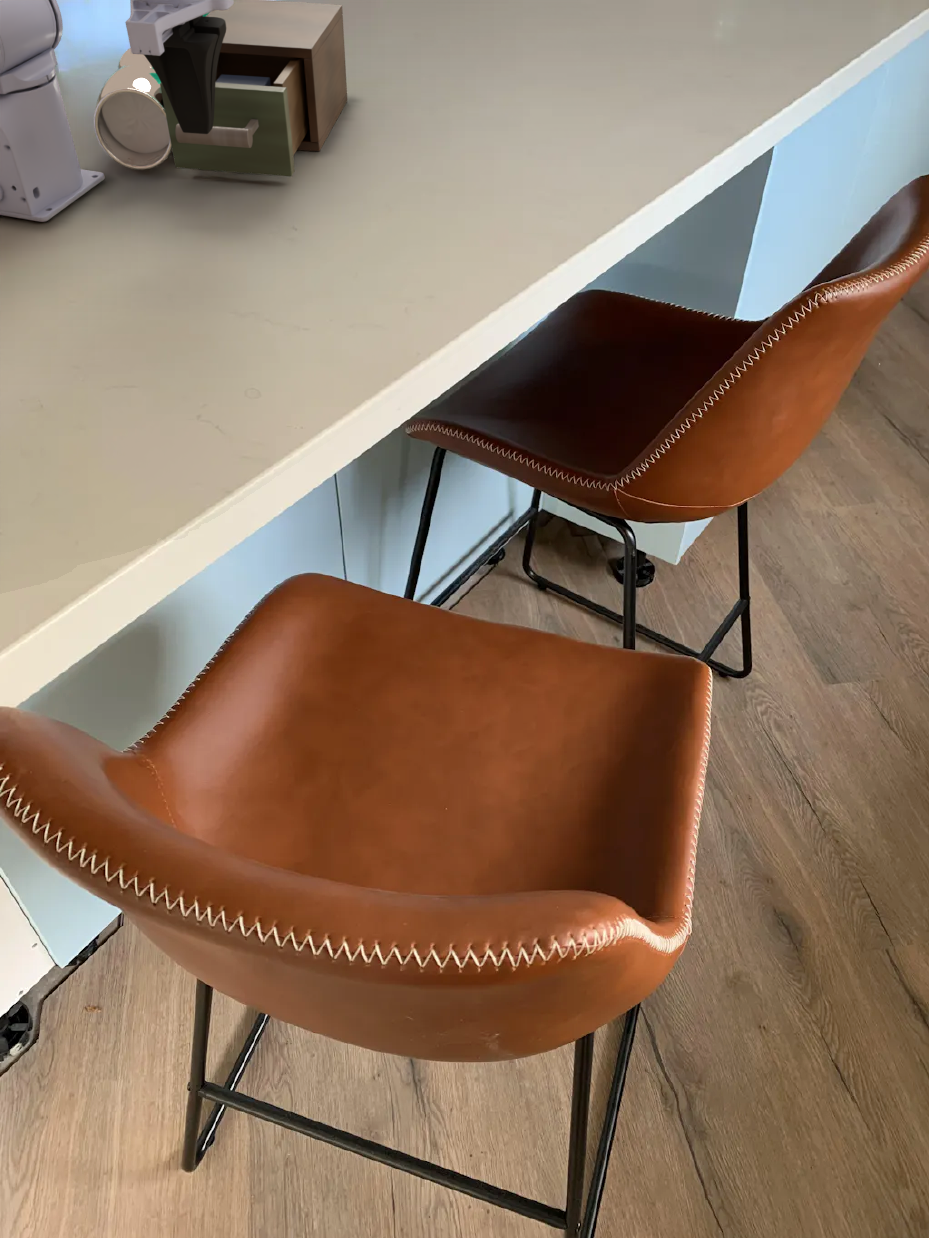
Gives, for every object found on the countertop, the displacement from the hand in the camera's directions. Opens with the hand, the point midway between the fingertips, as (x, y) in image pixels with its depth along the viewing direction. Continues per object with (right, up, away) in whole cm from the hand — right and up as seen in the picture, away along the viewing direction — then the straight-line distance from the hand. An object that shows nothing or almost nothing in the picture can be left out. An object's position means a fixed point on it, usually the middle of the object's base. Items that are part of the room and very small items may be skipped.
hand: (197, 130), depth 74 cm
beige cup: (-10, +15, +19) cm, 26 cm away
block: (+1, +5, +12) cm, 13 cm away
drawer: (+1, +4, +12) cm, 13 cm away
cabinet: (+2, +11, +20) cm, 23 cm away
